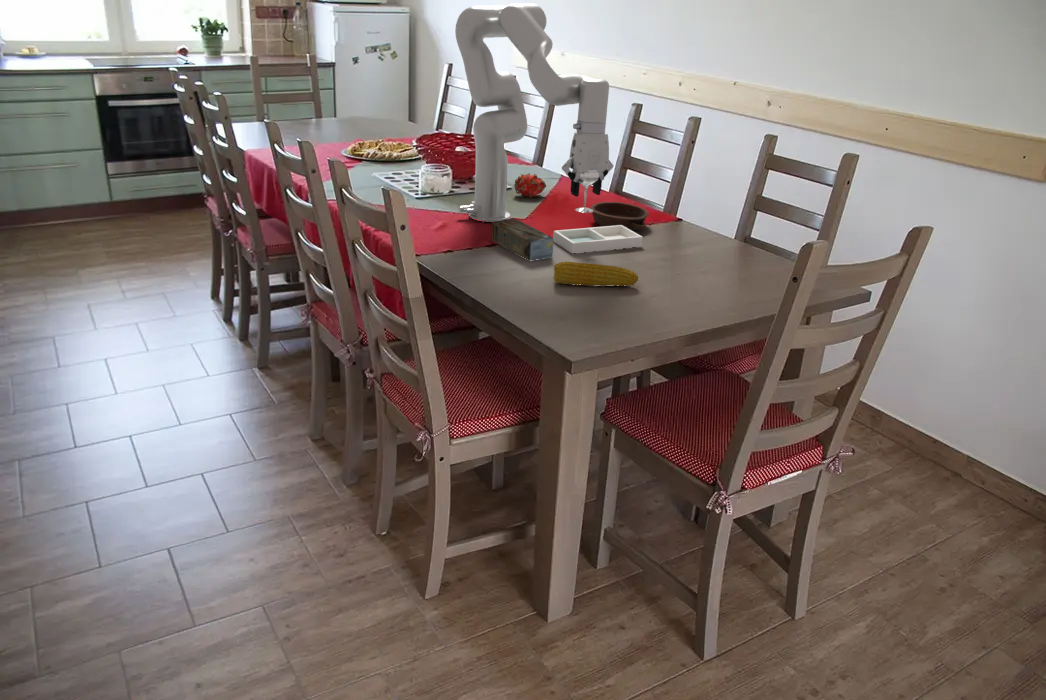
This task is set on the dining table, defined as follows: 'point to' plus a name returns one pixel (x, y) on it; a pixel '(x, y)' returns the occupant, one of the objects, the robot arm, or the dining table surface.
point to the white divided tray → (597, 239)
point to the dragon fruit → (529, 185)
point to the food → (593, 274)
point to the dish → (619, 215)
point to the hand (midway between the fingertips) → (585, 194)
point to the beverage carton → (522, 239)
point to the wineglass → (587, 185)
